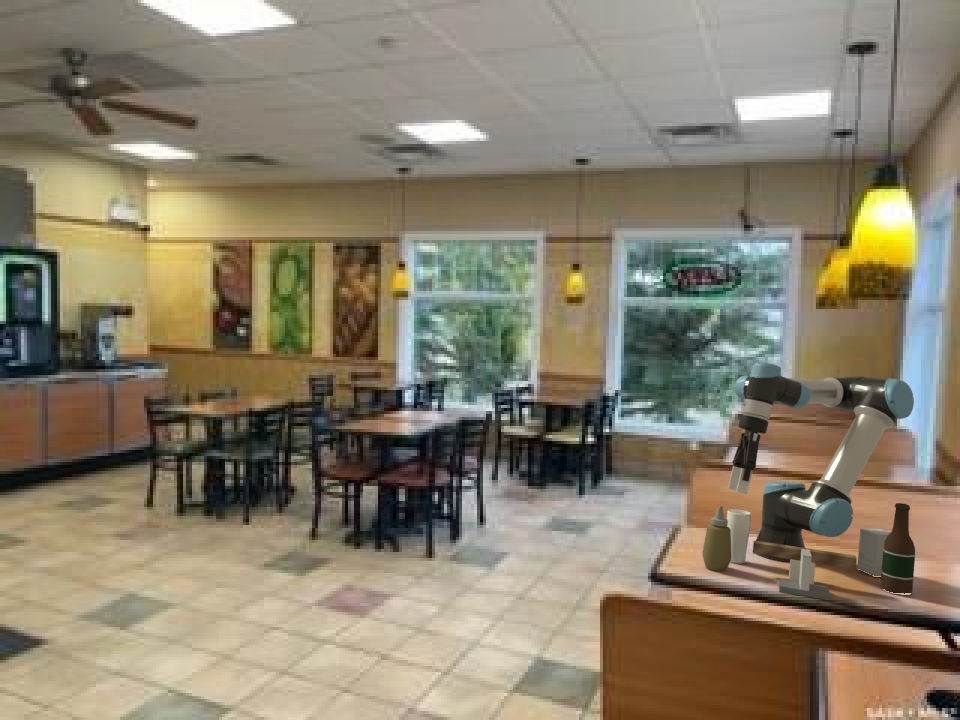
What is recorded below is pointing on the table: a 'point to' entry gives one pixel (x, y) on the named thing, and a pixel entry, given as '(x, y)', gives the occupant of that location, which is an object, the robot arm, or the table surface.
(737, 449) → the robot arm
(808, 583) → the ridge stand
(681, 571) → the table surface
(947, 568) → the table surface
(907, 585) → the beer bottle
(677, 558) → the table surface
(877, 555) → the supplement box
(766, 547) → the walnut bar
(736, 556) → the drinking glass
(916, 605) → the table surface
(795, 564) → the block
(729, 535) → the squeeze bottle
